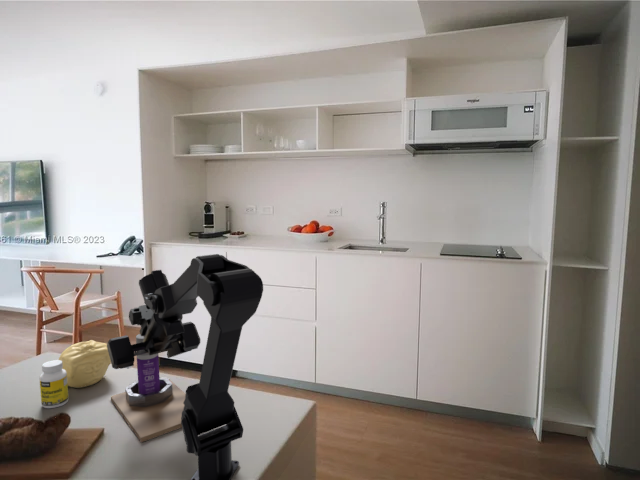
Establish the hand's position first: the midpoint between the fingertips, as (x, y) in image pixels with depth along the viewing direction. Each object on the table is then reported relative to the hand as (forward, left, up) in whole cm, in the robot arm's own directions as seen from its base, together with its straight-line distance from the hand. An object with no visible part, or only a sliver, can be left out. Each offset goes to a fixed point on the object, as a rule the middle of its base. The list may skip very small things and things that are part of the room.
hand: (148, 361), depth 100 cm
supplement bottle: (-5, +21, -10) cm, 24 cm away
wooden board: (-3, -3, -10) cm, 11 cm away
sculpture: (+6, +22, -10) cm, 25 cm away
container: (0, 0, -9) cm, 9 cm away
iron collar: (0, 0, -10) cm, 10 cm away
